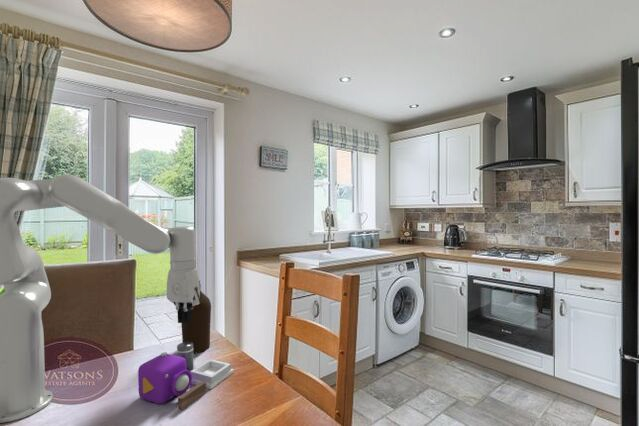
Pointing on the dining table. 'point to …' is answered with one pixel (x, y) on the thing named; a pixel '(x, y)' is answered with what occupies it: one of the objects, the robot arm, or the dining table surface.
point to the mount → (211, 373)
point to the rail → (191, 395)
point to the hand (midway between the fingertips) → (184, 321)
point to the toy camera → (163, 378)
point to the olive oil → (198, 325)
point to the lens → (186, 354)
